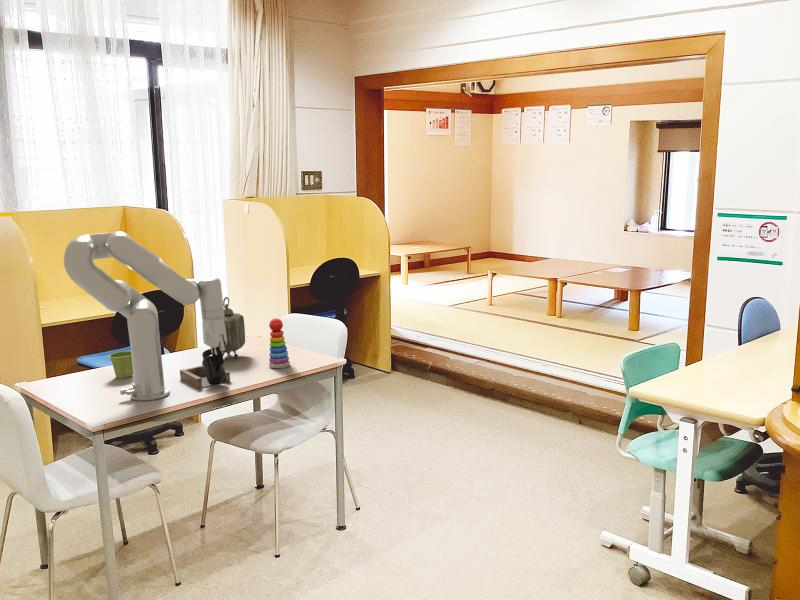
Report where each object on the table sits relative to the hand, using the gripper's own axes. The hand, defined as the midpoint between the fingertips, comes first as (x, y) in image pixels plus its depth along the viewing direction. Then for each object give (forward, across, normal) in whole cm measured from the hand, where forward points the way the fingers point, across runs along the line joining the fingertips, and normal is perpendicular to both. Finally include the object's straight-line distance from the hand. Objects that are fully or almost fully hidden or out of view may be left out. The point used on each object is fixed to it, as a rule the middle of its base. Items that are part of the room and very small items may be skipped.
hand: (218, 364), depth 251 cm
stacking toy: (+9, -8, +28) cm, 30 cm away
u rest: (+8, -10, -1) cm, 13 cm away
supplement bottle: (+6, 0, -1) cm, 6 cm away
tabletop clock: (+8, -33, +20) cm, 39 cm away
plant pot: (+7, -38, -21) cm, 44 cm away
